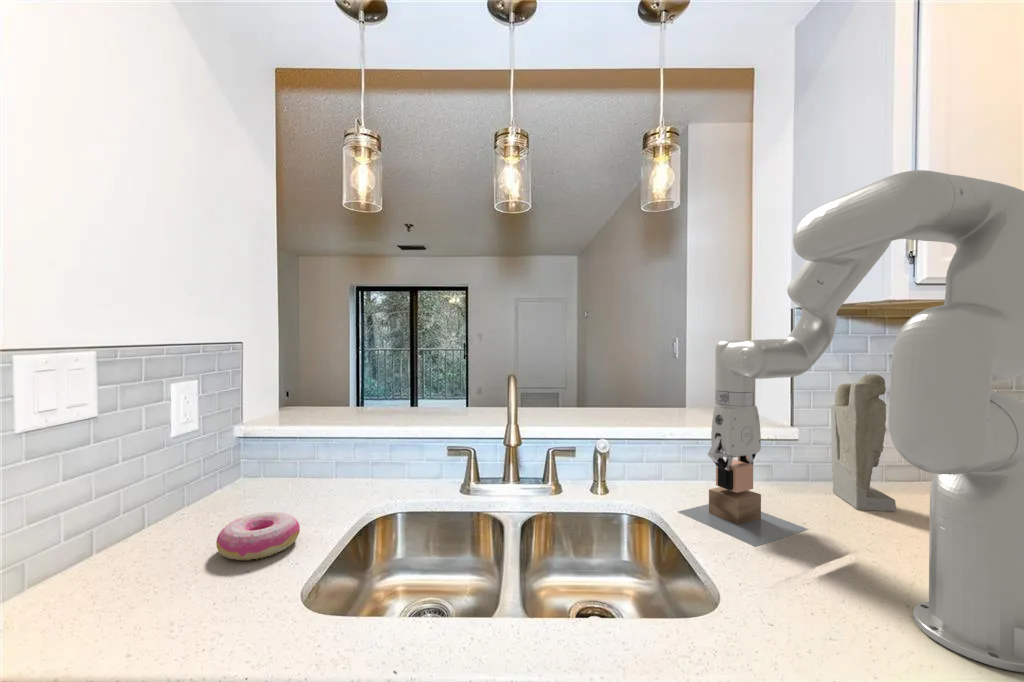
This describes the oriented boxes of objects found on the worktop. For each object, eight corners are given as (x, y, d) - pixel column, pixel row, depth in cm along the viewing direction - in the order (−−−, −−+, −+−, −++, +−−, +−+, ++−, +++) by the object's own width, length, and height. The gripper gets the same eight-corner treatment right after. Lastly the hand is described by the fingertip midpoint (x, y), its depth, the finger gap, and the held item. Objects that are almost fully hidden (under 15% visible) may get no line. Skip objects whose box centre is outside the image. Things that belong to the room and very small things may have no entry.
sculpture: (904, 517, 96) (906, 376, 96) (861, 514, 98) (862, 375, 98) (865, 493, 111) (866, 370, 111) (828, 490, 113) (828, 370, 112)
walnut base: (760, 518, 93) (761, 494, 93) (738, 525, 90) (738, 500, 90) (731, 507, 100) (731, 484, 100) (708, 512, 97) (708, 489, 97)
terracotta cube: (753, 488, 94) (753, 464, 94) (736, 492, 92) (737, 468, 92) (731, 481, 98) (731, 458, 98) (715, 485, 96) (716, 461, 96)
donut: (270, 569, 76) (269, 539, 76) (196, 565, 78) (196, 536, 78) (313, 533, 90) (312, 508, 90) (249, 531, 91) (249, 506, 91)
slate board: (808, 534, 88) (808, 529, 88) (755, 552, 81) (755, 546, 81) (727, 503, 104) (727, 499, 104) (677, 516, 97) (677, 511, 97)
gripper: (722, 404, 87) (722, 498, 88) (778, 398, 95) (777, 485, 95) (691, 399, 94) (691, 486, 94) (745, 394, 102) (745, 475, 102)
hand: (734, 484), depth 95 cm, fingers closed on terracotta cube, 5 cm apart
